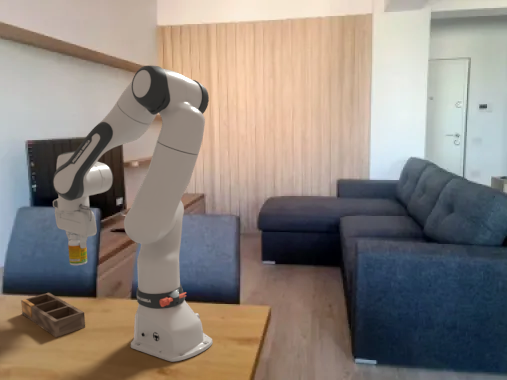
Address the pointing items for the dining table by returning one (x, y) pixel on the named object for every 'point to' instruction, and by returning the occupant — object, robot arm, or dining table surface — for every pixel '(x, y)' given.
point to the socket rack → (53, 314)
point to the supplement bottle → (76, 251)
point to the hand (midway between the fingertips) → (77, 246)
